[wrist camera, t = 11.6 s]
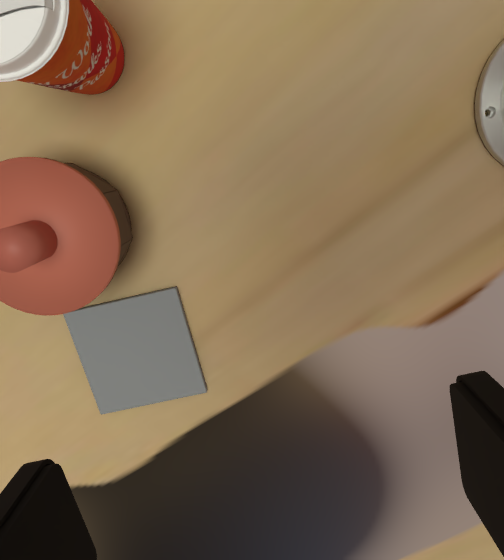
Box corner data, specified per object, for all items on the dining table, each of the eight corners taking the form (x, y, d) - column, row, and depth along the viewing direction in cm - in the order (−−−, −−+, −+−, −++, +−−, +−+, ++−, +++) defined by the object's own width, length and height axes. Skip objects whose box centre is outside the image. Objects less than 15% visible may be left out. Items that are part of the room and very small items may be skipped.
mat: (176, 286, 41) (175, 288, 40) (207, 389, 43) (206, 392, 43) (65, 311, 41) (63, 313, 41) (102, 411, 44) (100, 414, 44)
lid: (90, 139, 31) (61, 135, 27) (140, 293, 35) (122, 314, 30) (-62, 179, 32) (-115, 182, 28) (0, 326, 35) (-39, 351, 31)
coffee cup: (82, 129, 37) (-31, 110, 23) (16, 40, 35) (-152, -42, 21) (160, 69, 36) (93, 7, 21) (96, -27, 34) (-24, -165, 19)
